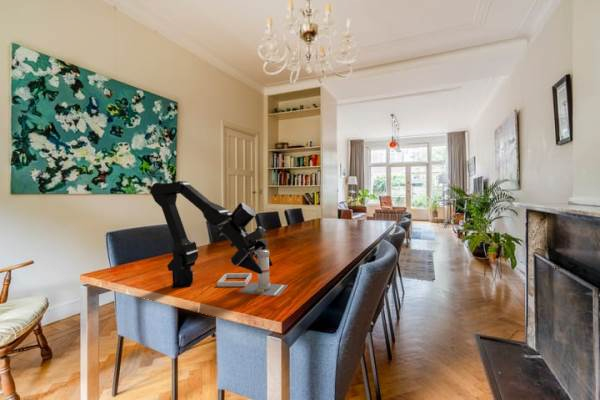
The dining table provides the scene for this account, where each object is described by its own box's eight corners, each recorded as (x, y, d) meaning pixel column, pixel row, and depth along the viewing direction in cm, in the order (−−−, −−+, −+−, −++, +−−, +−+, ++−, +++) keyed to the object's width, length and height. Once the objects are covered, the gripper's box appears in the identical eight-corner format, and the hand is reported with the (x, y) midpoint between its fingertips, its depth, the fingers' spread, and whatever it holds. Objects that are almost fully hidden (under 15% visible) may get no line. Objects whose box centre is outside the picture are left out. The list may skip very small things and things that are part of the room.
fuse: (258, 291, 91) (257, 252, 90) (257, 287, 95) (256, 250, 94) (271, 290, 92) (270, 251, 91) (268, 285, 96) (268, 249, 95)
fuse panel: (238, 295, 90) (238, 289, 90) (251, 285, 100) (251, 279, 100) (278, 298, 87) (278, 292, 87) (287, 288, 96) (287, 282, 96)
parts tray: (217, 289, 96) (217, 282, 96) (226, 279, 107) (225, 273, 106) (245, 288, 96) (245, 281, 96) (251, 279, 106) (251, 273, 106)
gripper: (238, 223, 85) (272, 260, 82) (261, 217, 103) (290, 247, 100) (216, 247, 87) (249, 284, 84) (243, 237, 105) (271, 267, 102)
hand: (267, 269), depth 93 cm, fingers open, 9 cm apart
